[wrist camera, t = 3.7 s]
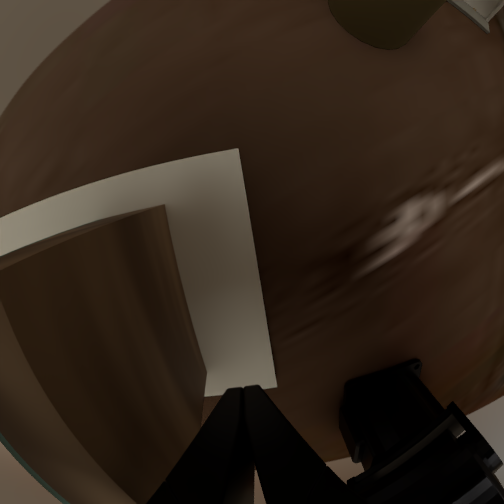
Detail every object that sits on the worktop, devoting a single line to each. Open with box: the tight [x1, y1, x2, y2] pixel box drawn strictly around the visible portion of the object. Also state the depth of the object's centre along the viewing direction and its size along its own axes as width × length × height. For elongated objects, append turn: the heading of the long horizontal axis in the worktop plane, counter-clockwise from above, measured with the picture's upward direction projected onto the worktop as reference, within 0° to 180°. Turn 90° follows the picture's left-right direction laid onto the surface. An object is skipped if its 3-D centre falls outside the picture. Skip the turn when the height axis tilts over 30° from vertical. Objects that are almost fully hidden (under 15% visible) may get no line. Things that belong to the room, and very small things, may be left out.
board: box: [0, 149, 277, 397], centre depth 15 cm, size 22×14×1 cm, turn 99°
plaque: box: [0, 204, 207, 504], centre depth 9 cm, size 4×10×11 cm, turn 9°
